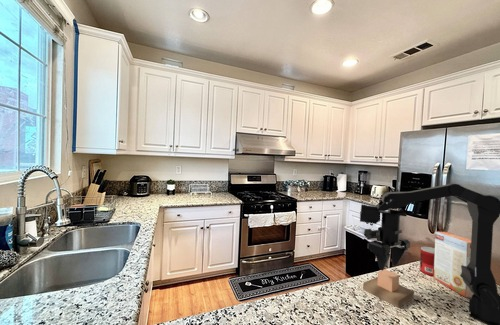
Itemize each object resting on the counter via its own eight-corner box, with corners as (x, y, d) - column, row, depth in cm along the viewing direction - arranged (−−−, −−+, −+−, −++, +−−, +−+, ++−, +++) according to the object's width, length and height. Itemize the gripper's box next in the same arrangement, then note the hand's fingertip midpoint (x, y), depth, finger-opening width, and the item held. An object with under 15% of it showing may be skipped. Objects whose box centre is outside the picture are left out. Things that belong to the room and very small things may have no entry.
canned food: (447, 279, 92) (447, 254, 93) (426, 276, 94) (427, 251, 94) (435, 270, 100) (436, 247, 100) (416, 268, 102) (417, 245, 102)
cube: (398, 288, 78) (399, 275, 78) (391, 292, 75) (392, 277, 76) (384, 282, 82) (384, 269, 82) (377, 285, 80) (377, 271, 80)
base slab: (413, 299, 77) (414, 291, 77) (398, 309, 70) (398, 300, 70) (379, 283, 87) (379, 275, 87) (362, 290, 81) (363, 282, 81)
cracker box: (481, 299, 78) (483, 243, 79) (464, 298, 78) (466, 242, 79) (446, 279, 92) (448, 231, 93) (432, 278, 92) (434, 230, 93)
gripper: (381, 218, 91) (380, 255, 91) (355, 222, 82) (353, 262, 81) (411, 226, 81) (409, 266, 81) (385, 230, 72) (383, 276, 72)
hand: (388, 267), depth 79 cm, fingers open, 9 cm apart
